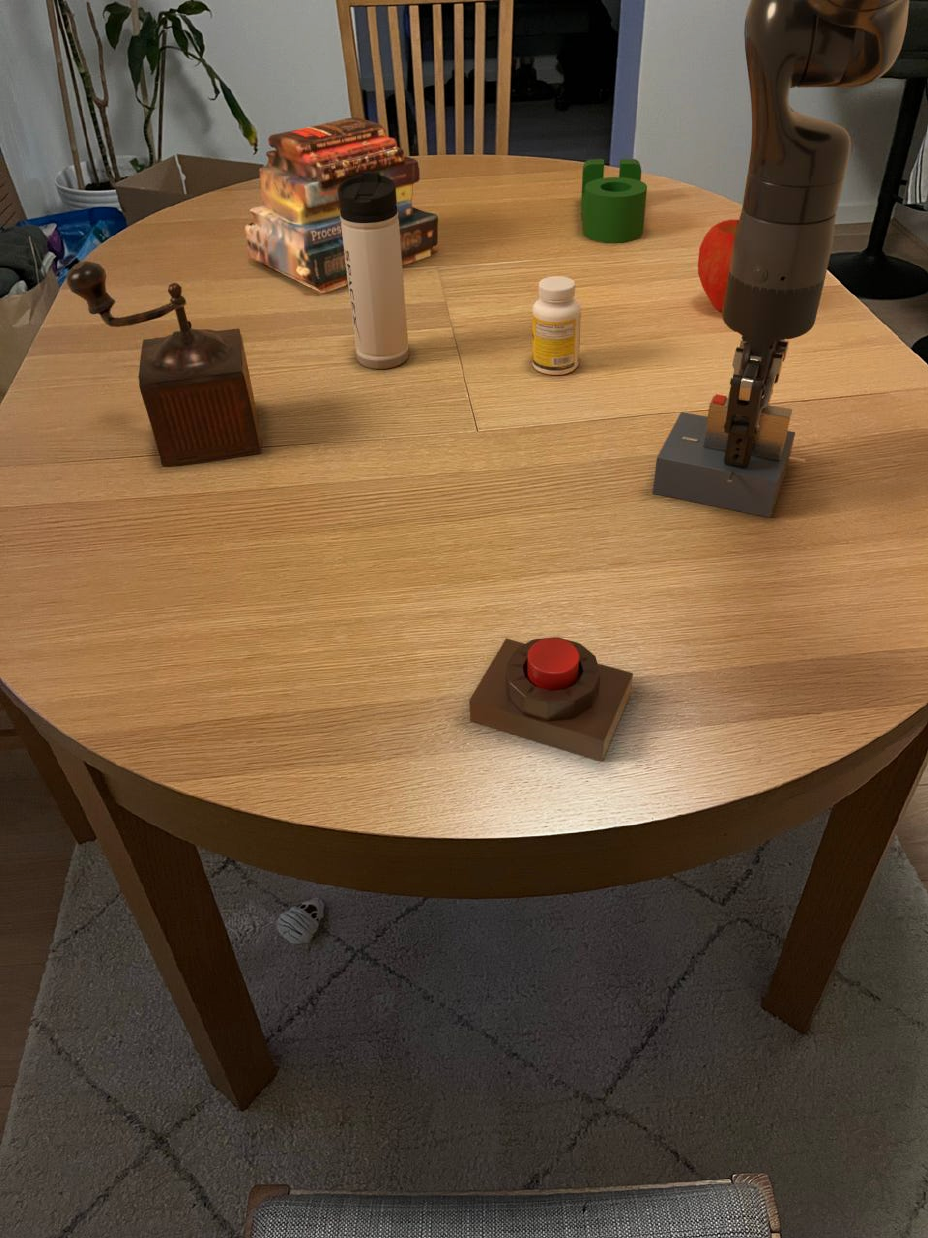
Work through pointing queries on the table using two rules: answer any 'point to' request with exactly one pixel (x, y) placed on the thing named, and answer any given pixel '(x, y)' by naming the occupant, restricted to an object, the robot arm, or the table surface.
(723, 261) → the apple
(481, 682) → the button block
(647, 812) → the table surface
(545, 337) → the supplement bottle
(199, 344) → the manual coffee grinder
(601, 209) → the slotted cylinder bracket
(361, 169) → the book
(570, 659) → the red push button
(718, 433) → the red-tipped tan bar
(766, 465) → the grey slotted base
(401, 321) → the travel mug
